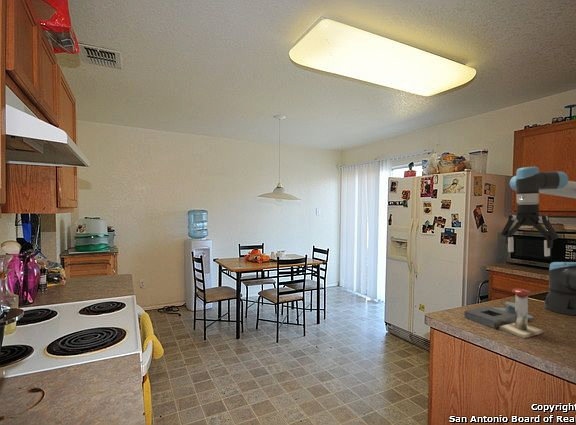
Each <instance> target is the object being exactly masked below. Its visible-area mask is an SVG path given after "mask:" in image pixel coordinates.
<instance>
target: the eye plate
mask: <svg viewBox="0 0 576 425" xmlns="http://www.w3.org/2000/svg"><path fill="white" fill-rule="evenodd" d="M496 308H497V307H492V306H483V307H478V308H473V309H468V310H465V311H464V318H465V319H467V320H469V321H470V320H471V321H472V322H476V323H479V324H481V325H483V326H487V327H489V328H493V329H497V328H499V327H500V326H503V325H507V324H512V323H515V314H512V313H509V312H505V311H502V310H499V309H496Z"/></svg>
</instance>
